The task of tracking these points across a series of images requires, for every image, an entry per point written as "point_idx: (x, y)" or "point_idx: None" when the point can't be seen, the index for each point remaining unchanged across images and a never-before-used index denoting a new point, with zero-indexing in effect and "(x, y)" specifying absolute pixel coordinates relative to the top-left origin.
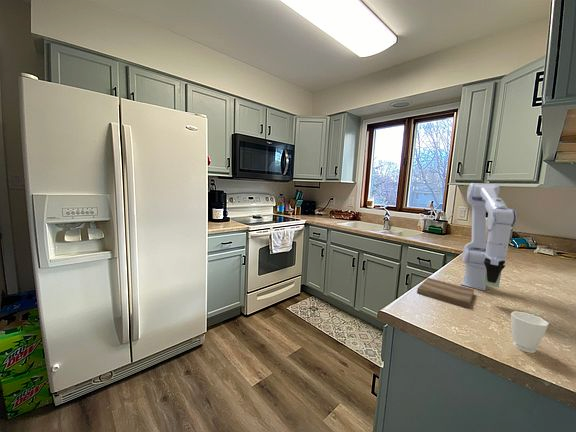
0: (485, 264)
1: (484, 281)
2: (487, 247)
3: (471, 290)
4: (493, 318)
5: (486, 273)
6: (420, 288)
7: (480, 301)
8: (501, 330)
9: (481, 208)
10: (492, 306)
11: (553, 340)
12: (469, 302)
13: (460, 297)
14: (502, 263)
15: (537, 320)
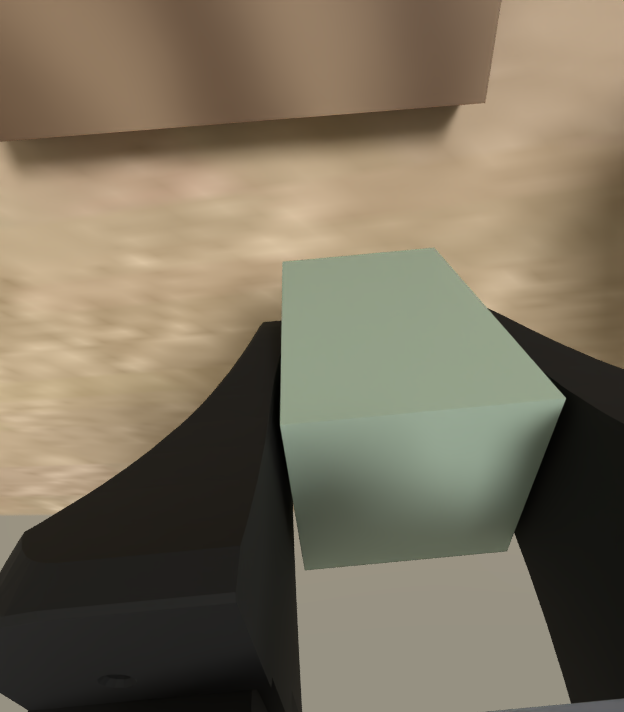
0: (18, 553)
1: (282, 279)
2: None
3: (425, 83)
4: (45, 304)
5: (282, 359)
6: None
7: (312, 187)
8: None
9: None
10: (278, 271)
11: (93, 484)
12: (41, 137)
13: (33, 23)
14: (574, 665)
15: None
